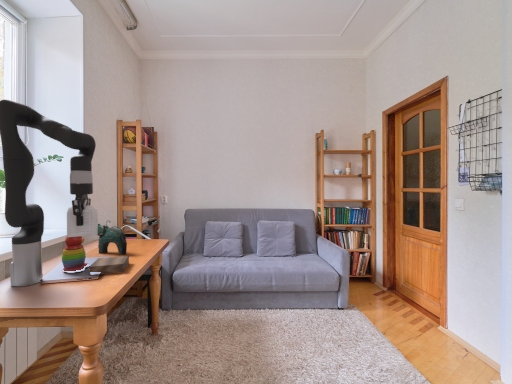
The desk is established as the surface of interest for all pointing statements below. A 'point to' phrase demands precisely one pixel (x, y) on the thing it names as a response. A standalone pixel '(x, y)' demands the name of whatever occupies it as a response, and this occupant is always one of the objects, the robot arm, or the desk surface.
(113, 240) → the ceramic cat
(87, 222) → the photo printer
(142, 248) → the desk surface
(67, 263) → the stacking bear
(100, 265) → the walnut block
